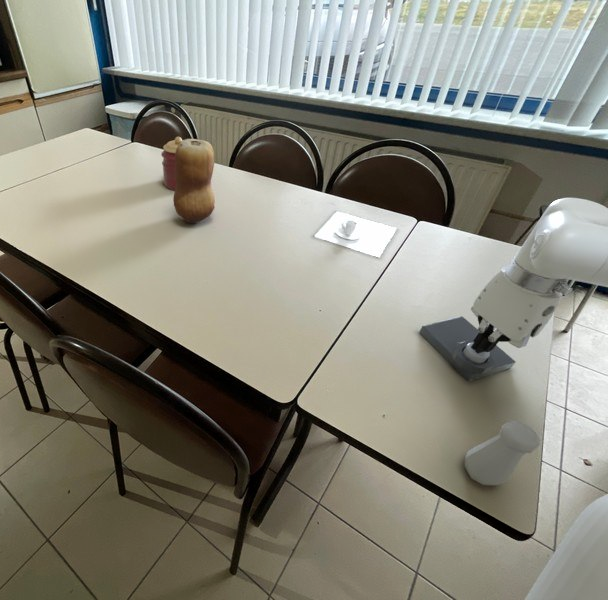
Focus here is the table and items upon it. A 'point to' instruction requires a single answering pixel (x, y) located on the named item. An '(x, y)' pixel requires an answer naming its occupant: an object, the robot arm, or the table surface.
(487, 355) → the flush button
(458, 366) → the plate
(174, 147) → the kitchen canister
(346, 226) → the teacup and saucer
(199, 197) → the butternut squash
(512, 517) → the table surface
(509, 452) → the salt shaker
